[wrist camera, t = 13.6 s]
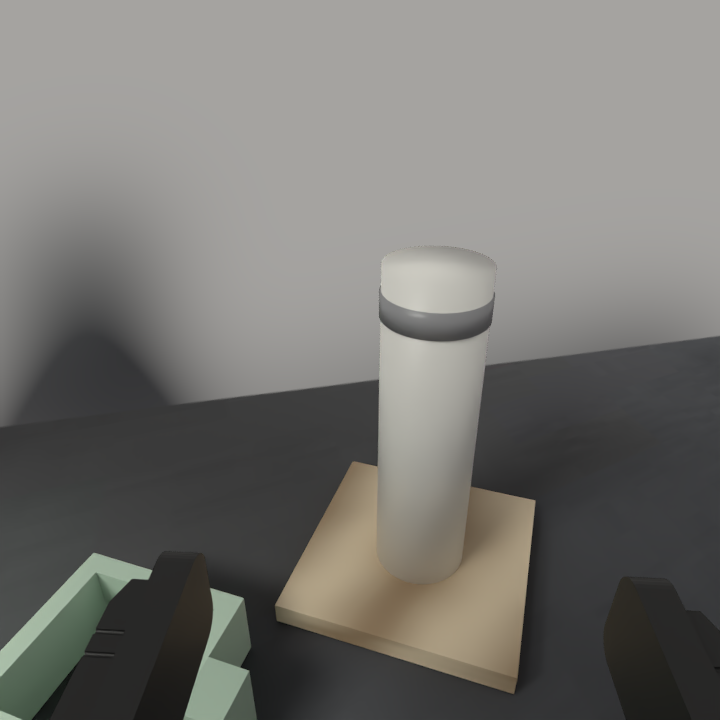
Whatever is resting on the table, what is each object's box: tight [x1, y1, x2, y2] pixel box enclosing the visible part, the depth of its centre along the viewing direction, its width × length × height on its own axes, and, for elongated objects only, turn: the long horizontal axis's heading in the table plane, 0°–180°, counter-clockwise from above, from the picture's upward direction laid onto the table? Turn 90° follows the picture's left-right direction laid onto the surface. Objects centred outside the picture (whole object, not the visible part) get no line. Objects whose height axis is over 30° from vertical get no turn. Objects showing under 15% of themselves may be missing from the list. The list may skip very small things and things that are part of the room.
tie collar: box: [0, 553, 257, 720], centre depth 21 cm, size 9×7×3 cm
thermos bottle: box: [376, 246, 497, 584], centre depth 24 cm, size 4×4×14 cm
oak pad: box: [275, 461, 535, 694], centre depth 27 cm, size 10×10×1 cm
